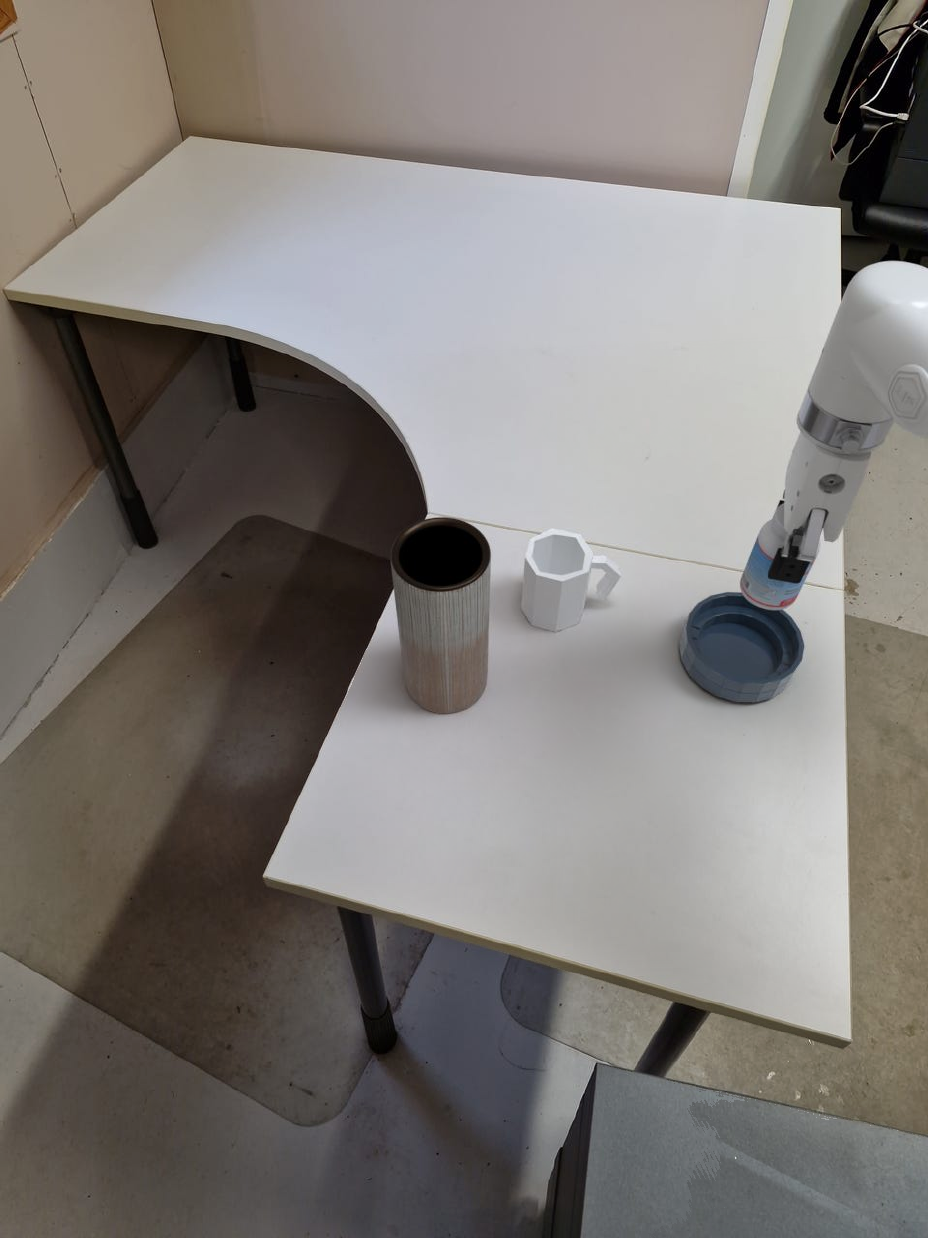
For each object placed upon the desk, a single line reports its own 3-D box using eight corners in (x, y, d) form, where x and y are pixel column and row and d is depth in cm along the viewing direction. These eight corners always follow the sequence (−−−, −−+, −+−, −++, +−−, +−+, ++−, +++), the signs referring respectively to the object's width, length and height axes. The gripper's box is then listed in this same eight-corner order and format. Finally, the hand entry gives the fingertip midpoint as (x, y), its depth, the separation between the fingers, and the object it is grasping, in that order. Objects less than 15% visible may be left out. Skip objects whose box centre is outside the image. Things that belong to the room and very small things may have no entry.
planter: (391, 700, 97) (373, 574, 79) (423, 636, 103) (413, 505, 85) (470, 725, 95) (470, 602, 77) (498, 659, 101) (504, 529, 83)
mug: (524, 633, 103) (529, 583, 95) (517, 581, 108) (520, 529, 101) (619, 628, 104) (631, 577, 96) (607, 576, 109) (617, 524, 101)
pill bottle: (789, 620, 87) (825, 547, 78) (732, 601, 88) (761, 528, 80) (801, 580, 90) (837, 506, 81) (746, 563, 92) (775, 488, 83)
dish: (758, 604, 106) (768, 582, 102) (813, 690, 98) (826, 669, 94) (661, 627, 104) (667, 605, 100) (708, 716, 96) (717, 695, 92)
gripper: (898, 487, 65) (822, 626, 79) (886, 361, 75) (820, 504, 89) (800, 472, 66) (742, 611, 80) (802, 349, 76) (750, 492, 90)
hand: (784, 553), depth 85 cm, fingers closed on pill bottle, 6 cm apart
